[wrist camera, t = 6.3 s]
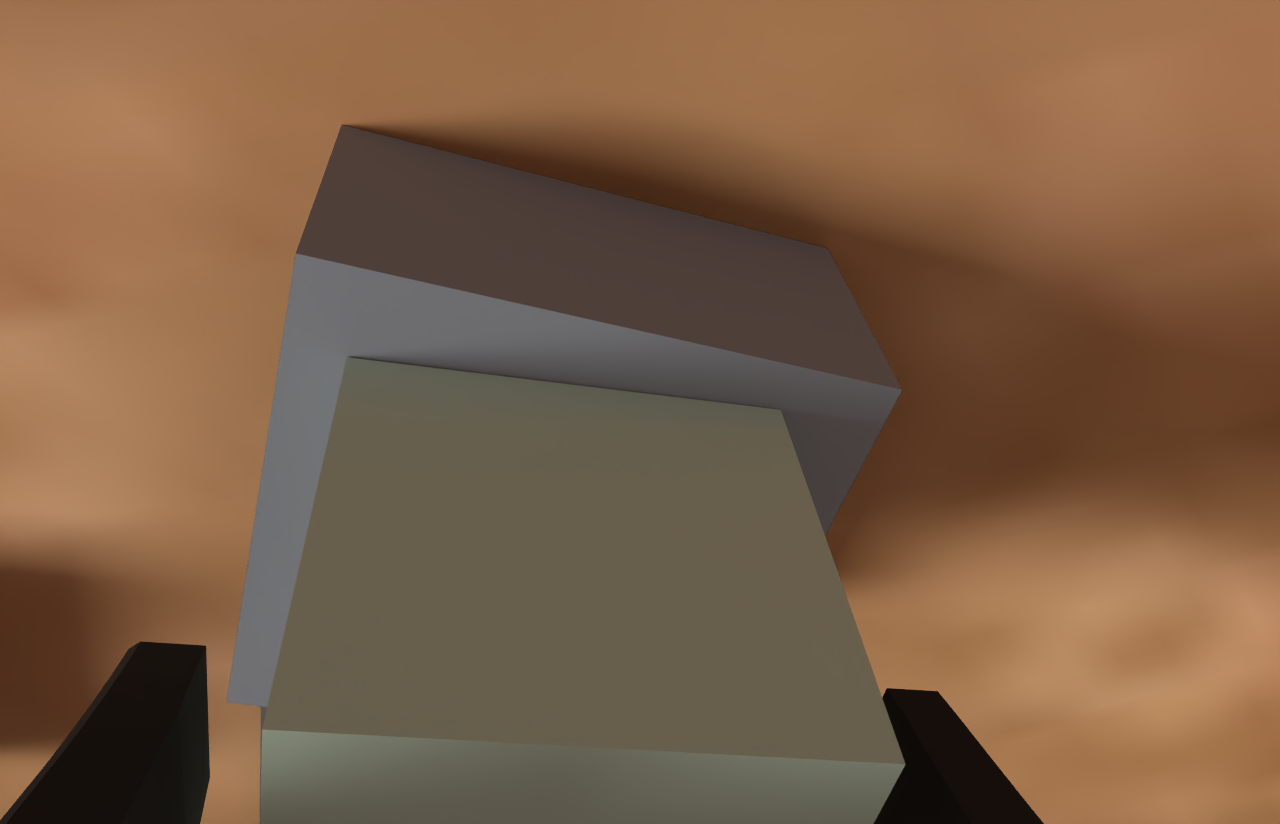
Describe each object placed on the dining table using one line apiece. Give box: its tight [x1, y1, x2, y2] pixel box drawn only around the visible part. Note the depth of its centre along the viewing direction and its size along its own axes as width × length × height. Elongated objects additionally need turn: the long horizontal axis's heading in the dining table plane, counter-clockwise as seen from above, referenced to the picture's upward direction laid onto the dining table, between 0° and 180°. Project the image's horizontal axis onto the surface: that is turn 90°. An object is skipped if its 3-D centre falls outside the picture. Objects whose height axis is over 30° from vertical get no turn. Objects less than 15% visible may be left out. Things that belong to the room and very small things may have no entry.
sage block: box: [260, 357, 905, 824], centre depth 12 cm, size 5×5×5 cm
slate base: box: [227, 125, 902, 707], centre depth 15 cm, size 7×7×4 cm
